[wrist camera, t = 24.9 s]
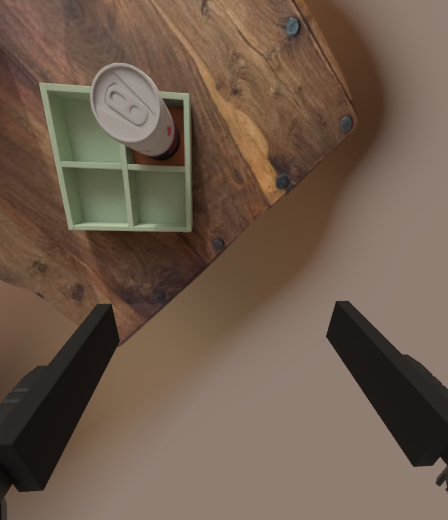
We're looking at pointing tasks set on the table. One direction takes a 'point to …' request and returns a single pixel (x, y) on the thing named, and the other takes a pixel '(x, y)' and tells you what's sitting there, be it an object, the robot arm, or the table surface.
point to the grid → (117, 168)
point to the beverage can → (133, 111)
